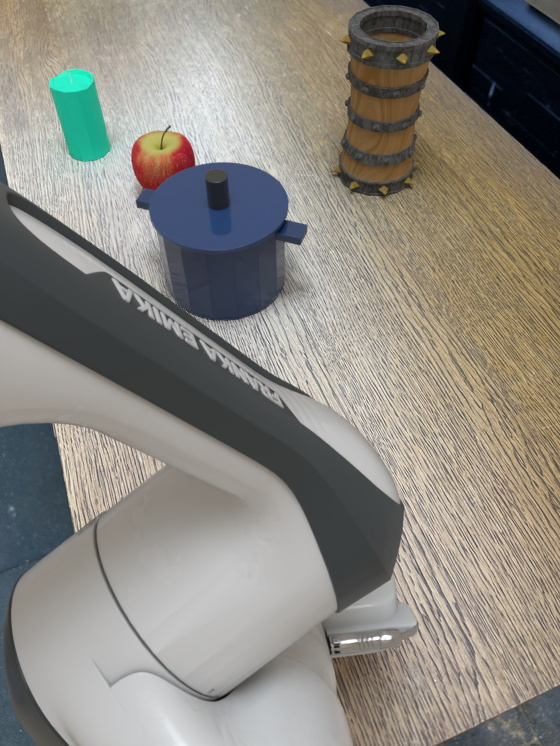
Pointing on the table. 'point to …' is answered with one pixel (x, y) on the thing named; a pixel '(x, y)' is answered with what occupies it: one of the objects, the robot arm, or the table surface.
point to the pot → (227, 273)
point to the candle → (80, 114)
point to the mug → (384, 96)
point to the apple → (160, 157)
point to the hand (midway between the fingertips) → (250, 563)
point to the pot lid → (218, 207)
